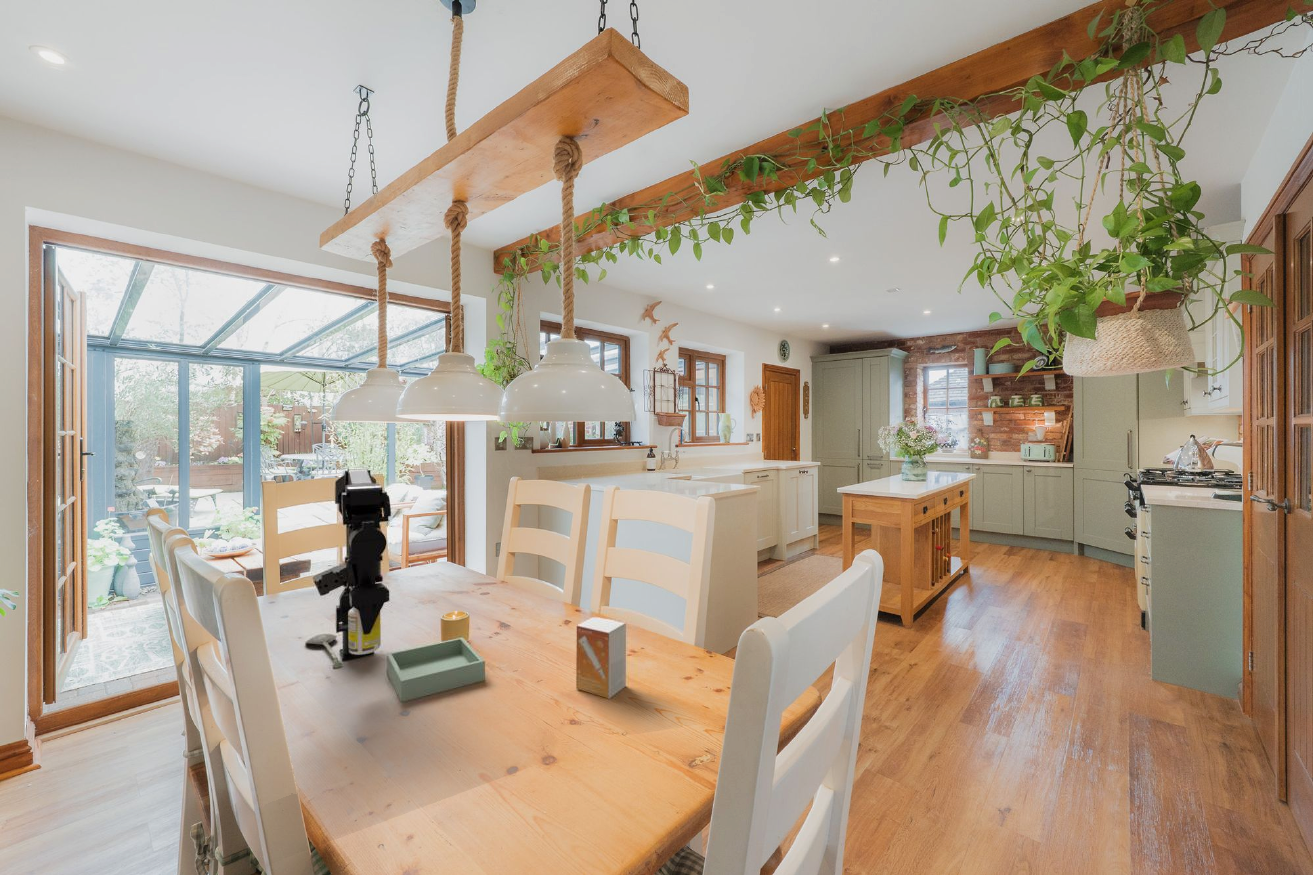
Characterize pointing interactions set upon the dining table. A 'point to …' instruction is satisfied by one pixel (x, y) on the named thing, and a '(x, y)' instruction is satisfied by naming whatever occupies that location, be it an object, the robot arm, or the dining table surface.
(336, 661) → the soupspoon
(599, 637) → the small box
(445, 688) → the open box
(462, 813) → the dining table surface
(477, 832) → the dining table surface
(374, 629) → the supplement bottle
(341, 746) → the dining table surface
